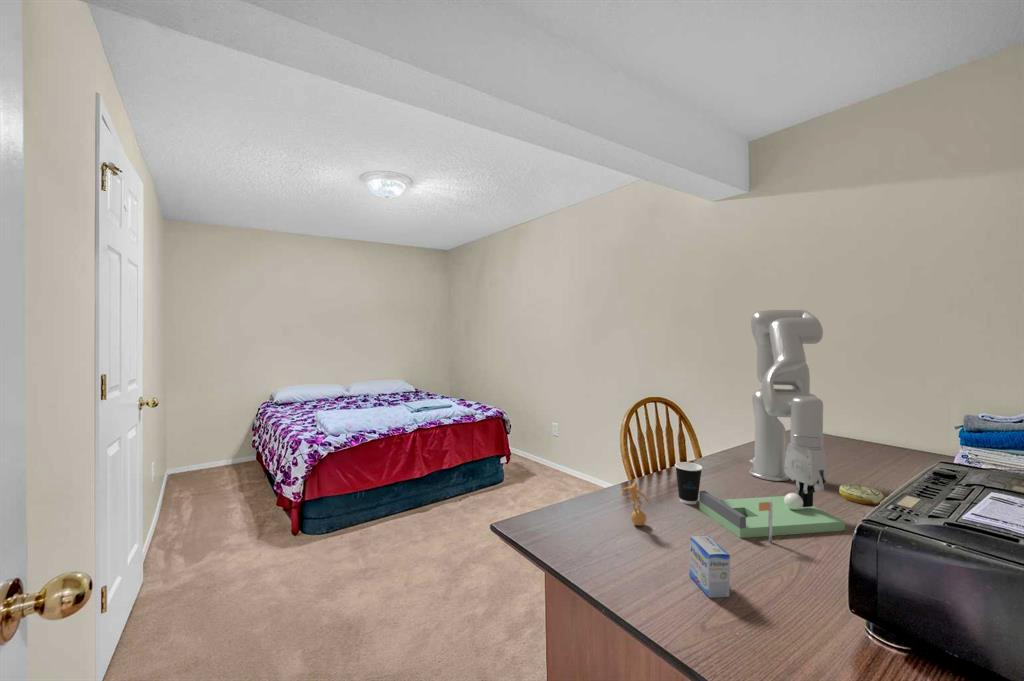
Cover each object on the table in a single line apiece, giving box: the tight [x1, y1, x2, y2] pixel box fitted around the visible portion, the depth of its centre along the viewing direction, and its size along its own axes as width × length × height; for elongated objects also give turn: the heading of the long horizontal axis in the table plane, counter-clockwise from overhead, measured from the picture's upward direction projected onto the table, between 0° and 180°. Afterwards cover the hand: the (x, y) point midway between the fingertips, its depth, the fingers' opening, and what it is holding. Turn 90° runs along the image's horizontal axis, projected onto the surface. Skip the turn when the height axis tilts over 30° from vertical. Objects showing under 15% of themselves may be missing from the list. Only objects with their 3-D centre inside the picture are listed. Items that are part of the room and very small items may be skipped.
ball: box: [784, 492, 803, 510], centre depth 121 cm, size 4×4×4 cm
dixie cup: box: [674, 461, 703, 505], centre depth 133 cm, size 8×8×11 cm
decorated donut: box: [838, 483, 885, 506], centre depth 134 cm, size 10×11×4 cm
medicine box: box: [688, 535, 731, 599], centre depth 88 cm, size 8×4×9 cm, turn 5°
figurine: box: [621, 481, 651, 527], centre depth 116 cm, size 8×6×12 cm
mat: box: [698, 490, 846, 539], centre depth 120 cm, size 18×30×5 cm, turn 98°
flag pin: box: [759, 501, 773, 544], centre depth 107 cm, size 1×4×10 cm, turn 99°
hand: (805, 505), depth 121 cm, fingers closed
